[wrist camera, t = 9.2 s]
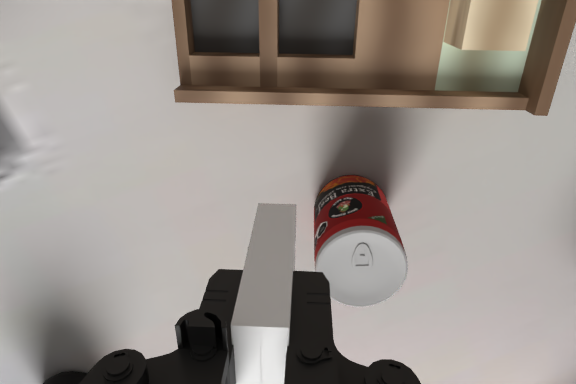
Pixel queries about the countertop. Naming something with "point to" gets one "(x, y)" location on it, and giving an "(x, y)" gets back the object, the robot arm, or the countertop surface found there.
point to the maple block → (490, 24)
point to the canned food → (357, 242)
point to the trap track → (360, 55)
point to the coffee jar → (66, 378)
